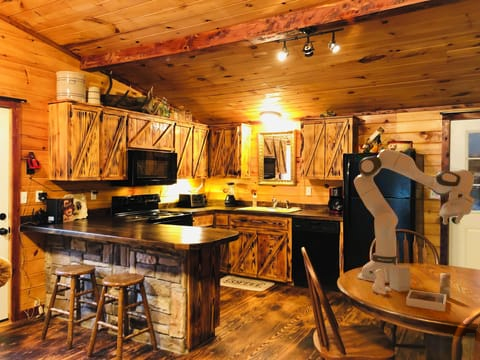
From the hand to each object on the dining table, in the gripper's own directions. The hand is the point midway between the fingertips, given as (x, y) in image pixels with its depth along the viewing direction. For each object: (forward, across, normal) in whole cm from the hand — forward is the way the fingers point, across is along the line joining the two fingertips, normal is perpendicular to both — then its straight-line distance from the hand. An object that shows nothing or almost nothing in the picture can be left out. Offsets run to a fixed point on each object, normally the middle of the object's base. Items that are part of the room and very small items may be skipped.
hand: (450, 223), depth 200 cm
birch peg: (+38, +3, +7) cm, 38 cm away
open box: (+45, +10, -6) cm, 47 cm away
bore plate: (+44, +10, -6) cm, 46 cm away
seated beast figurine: (+47, -9, -18) cm, 51 cm away
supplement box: (+42, -12, -8) cm, 44 cm away
